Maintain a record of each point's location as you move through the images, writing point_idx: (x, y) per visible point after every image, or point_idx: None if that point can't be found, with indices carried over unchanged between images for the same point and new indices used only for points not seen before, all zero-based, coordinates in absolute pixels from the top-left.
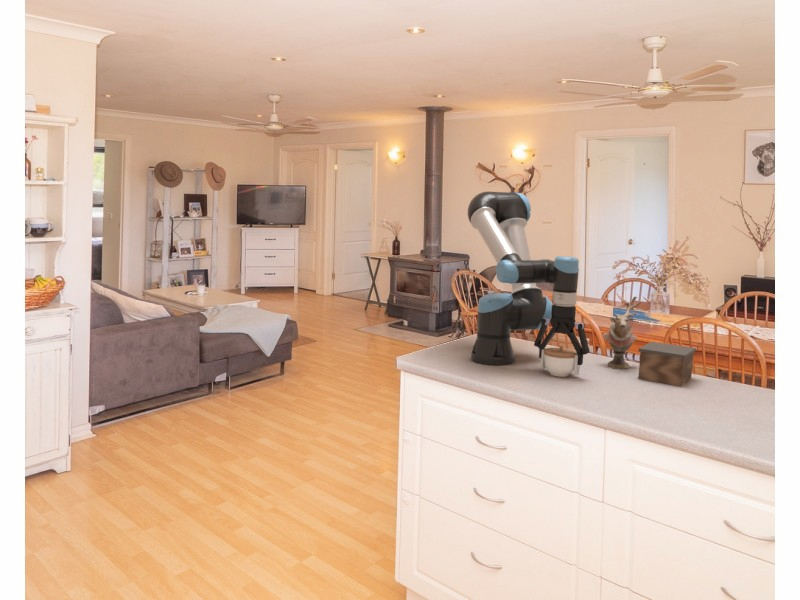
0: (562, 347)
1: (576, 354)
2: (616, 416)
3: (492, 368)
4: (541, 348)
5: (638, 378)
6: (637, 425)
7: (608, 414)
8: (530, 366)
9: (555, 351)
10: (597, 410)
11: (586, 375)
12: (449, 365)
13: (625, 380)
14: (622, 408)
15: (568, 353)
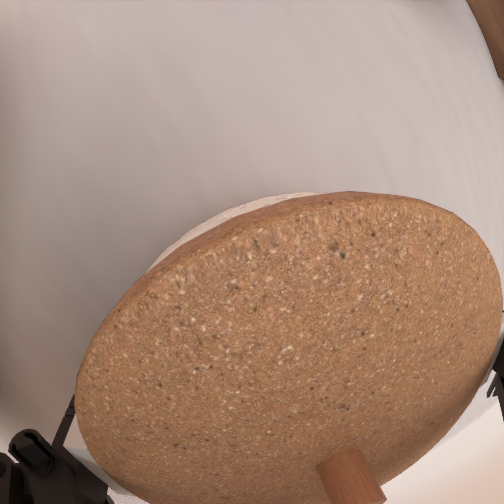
0: (378, 492)
1: (486, 366)
2: (476, 415)
3: (37, 429)
4: (109, 499)
5: (499, 76)
6: (490, 408)
7: (467, 422)
8: (26, 290)
9: (305, 501)
10: (455, 429)
11: (398, 173)
12: (6, 449)
13: (499, 131)
14: (490, 384)
15: (433, 439)
